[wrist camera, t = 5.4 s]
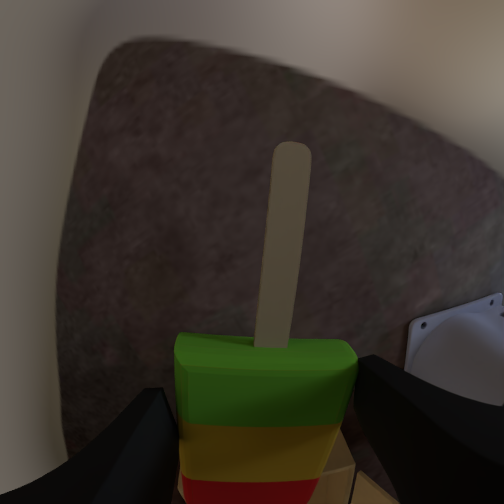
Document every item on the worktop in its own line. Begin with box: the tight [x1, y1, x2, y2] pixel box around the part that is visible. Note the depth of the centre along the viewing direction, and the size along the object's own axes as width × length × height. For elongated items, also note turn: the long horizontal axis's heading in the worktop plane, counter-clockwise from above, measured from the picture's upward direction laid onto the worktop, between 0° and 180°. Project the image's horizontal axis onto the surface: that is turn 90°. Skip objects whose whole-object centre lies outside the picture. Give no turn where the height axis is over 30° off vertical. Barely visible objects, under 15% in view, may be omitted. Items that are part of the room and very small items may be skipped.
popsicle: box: [174, 142, 359, 504], centre depth 9 cm, size 6×15×2 cm, turn 175°
